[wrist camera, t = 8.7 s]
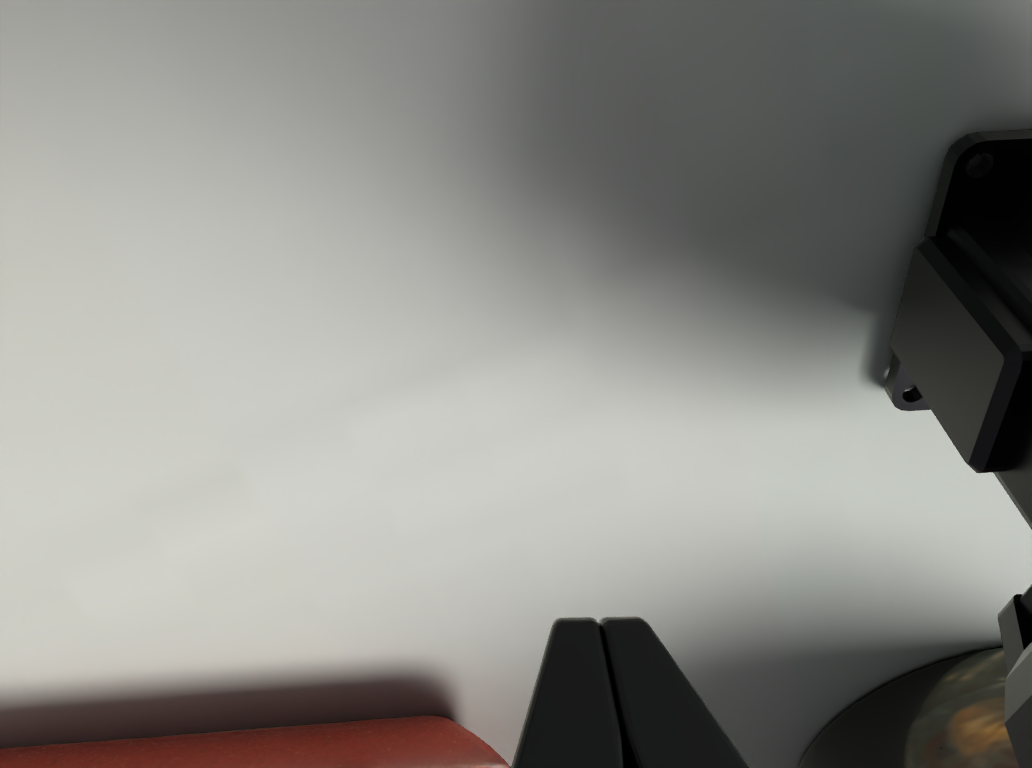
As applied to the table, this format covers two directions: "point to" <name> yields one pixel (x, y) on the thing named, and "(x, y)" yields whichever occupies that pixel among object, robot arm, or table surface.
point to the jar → (925, 721)
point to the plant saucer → (279, 748)
